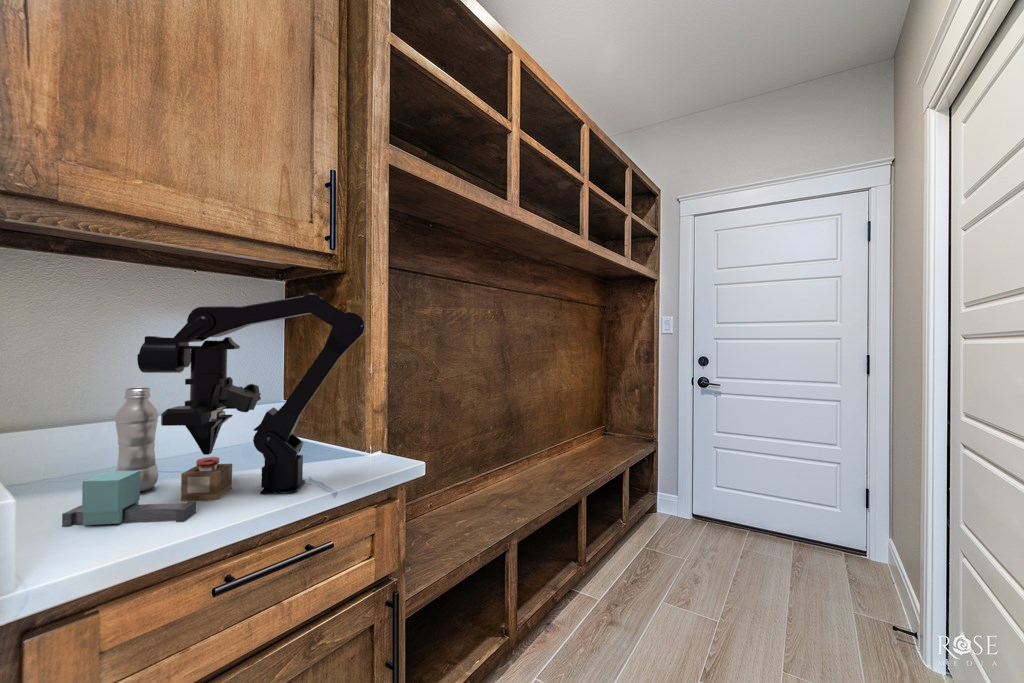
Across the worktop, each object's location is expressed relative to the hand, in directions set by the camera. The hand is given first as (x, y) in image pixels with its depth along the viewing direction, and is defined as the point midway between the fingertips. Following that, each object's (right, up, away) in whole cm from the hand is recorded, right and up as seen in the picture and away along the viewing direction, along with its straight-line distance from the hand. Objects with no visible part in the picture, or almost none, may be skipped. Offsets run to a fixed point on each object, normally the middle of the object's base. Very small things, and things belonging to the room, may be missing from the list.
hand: (207, 454), depth 84 cm
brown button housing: (0, -8, 0) cm, 8 cm away
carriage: (-7, -8, -12) cm, 16 cm away
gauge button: (0, -7, 0) cm, 7 cm away
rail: (-4, -8, -12) cm, 15 cm away
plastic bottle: (-14, -8, +1) cm, 16 cm away
